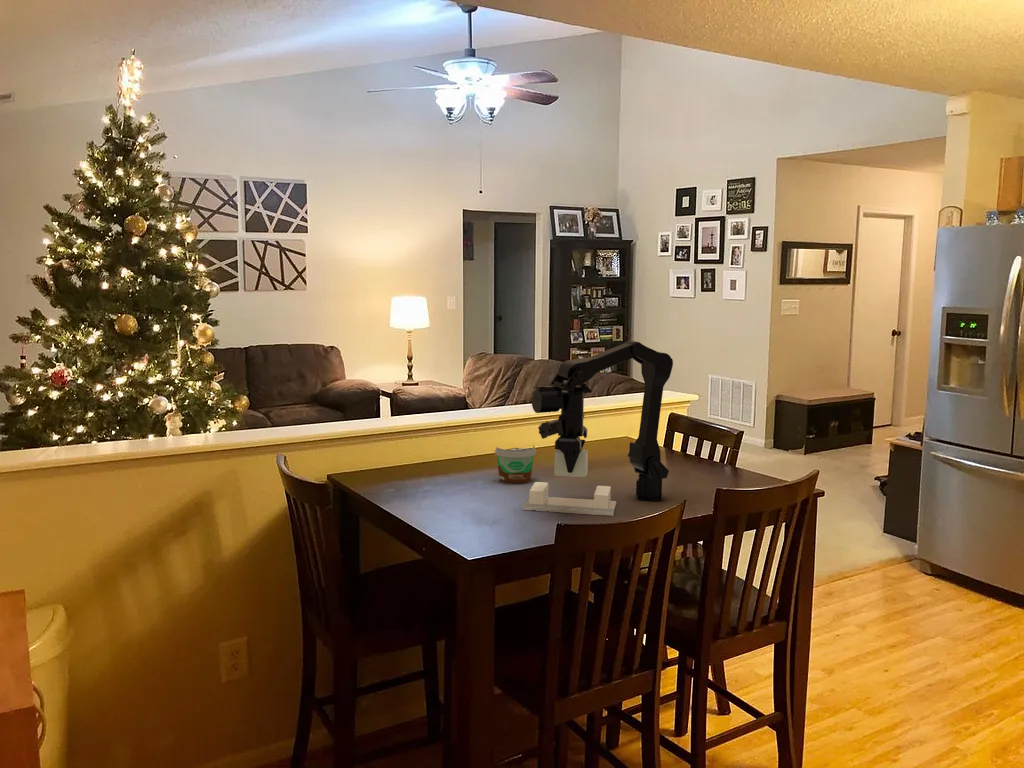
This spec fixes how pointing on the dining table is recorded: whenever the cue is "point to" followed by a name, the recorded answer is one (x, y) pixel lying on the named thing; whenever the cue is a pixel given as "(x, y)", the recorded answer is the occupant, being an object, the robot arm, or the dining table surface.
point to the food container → (515, 464)
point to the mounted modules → (540, 495)
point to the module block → (578, 470)
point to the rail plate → (570, 506)
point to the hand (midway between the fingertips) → (571, 470)
